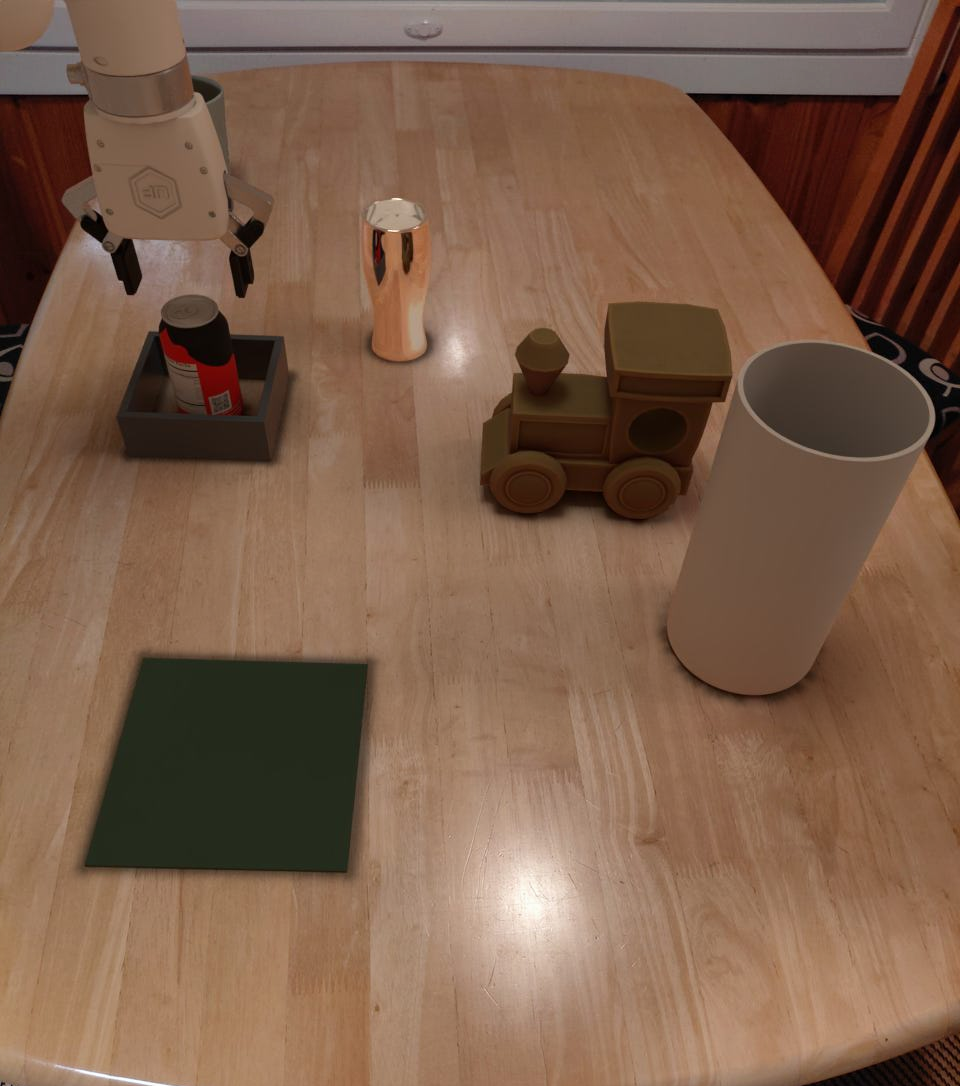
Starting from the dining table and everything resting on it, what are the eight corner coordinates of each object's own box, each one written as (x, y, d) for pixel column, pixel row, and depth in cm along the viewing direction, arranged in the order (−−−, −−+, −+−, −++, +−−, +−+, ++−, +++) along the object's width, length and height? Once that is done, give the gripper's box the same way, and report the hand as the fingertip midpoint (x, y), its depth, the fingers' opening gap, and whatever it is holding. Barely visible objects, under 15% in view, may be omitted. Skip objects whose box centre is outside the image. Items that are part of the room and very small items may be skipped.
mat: (85, 867, 66) (84, 865, 66) (144, 660, 78) (143, 657, 77) (347, 873, 67) (346, 871, 67) (367, 666, 78) (367, 663, 78)
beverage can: (255, 421, 97) (236, 316, 87) (197, 444, 94) (171, 337, 85) (227, 389, 100) (206, 283, 90) (170, 409, 97) (142, 303, 88)
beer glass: (380, 371, 103) (373, 237, 91) (358, 335, 107) (349, 203, 95) (440, 357, 105) (441, 224, 93) (417, 322, 109) (415, 191, 97)
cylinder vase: (663, 577, 86) (732, 331, 66) (804, 592, 85) (915, 349, 66) (666, 691, 78) (744, 450, 58) (821, 707, 77) (953, 470, 58)
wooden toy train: (680, 448, 97) (719, 299, 84) (693, 529, 90) (737, 380, 77) (481, 438, 96) (489, 287, 83) (478, 518, 89) (486, 367, 76)
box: (129, 458, 93) (115, 416, 89) (159, 372, 101) (148, 330, 97) (271, 463, 93) (264, 421, 89) (289, 377, 101) (283, 335, 98)
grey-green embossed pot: (160, 210, 122) (137, 110, 112) (157, 172, 128) (136, 75, 118) (241, 204, 123) (226, 105, 114) (235, 167, 129) (220, 70, 120)
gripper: (10, 101, 70) (81, 310, 84) (248, 108, 70) (280, 314, 84) (39, 59, 75) (102, 263, 88) (263, 65, 75) (291, 267, 89)
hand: (189, 288), depth 86 cm, fingers open, 9 cm apart
